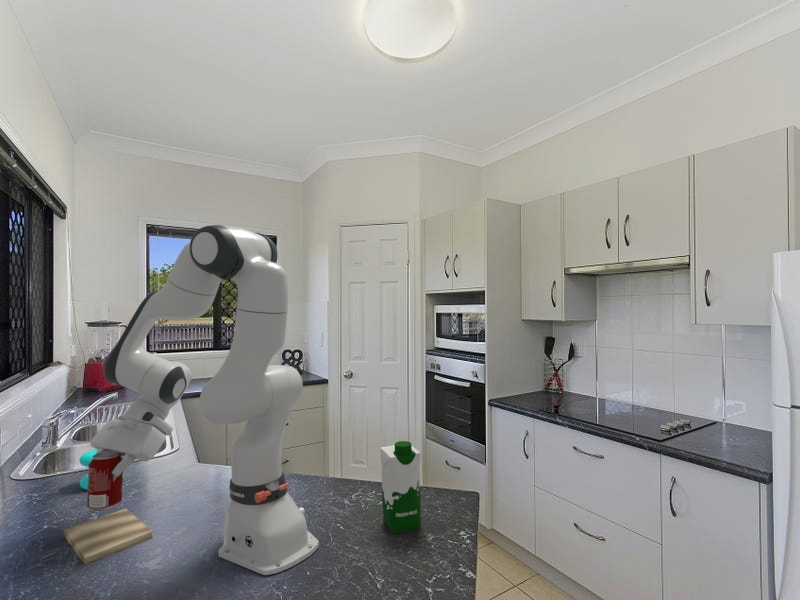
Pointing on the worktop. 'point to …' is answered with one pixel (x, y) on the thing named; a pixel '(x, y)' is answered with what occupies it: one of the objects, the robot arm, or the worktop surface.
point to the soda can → (104, 481)
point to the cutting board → (106, 535)
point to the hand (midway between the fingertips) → (103, 471)
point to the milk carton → (401, 487)
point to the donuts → (85, 461)
